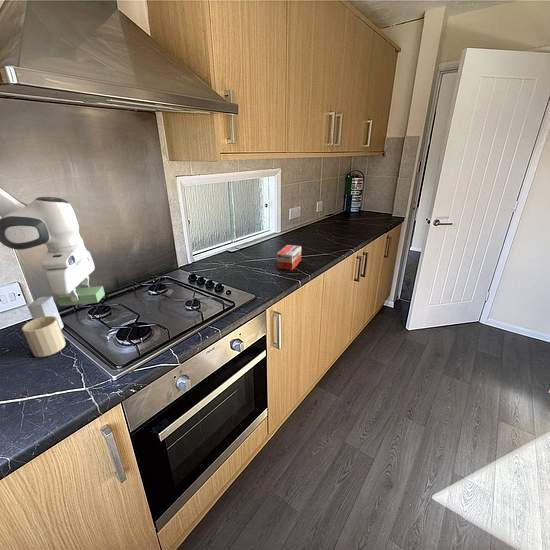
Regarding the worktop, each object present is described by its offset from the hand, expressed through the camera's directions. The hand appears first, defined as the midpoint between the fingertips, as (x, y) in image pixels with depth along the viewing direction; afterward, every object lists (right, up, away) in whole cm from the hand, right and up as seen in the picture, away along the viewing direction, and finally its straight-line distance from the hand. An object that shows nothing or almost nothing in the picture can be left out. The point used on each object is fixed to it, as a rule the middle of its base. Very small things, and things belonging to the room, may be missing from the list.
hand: (81, 295), depth 92 cm
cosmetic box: (-13, -13, +6) cm, 19 cm away
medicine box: (+68, +11, +57) cm, 90 cm away
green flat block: (0, -2, +1) cm, 2 cm away
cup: (-8, -16, -2) cm, 18 cm away
